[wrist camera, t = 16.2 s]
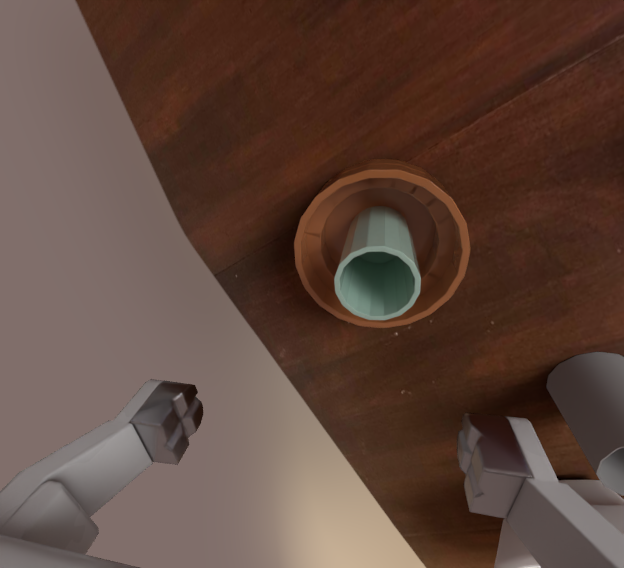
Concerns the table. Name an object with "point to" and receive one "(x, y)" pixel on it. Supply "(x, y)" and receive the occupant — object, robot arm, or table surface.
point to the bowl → (619, 512)
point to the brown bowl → (421, 219)
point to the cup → (594, 410)
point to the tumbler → (378, 266)
